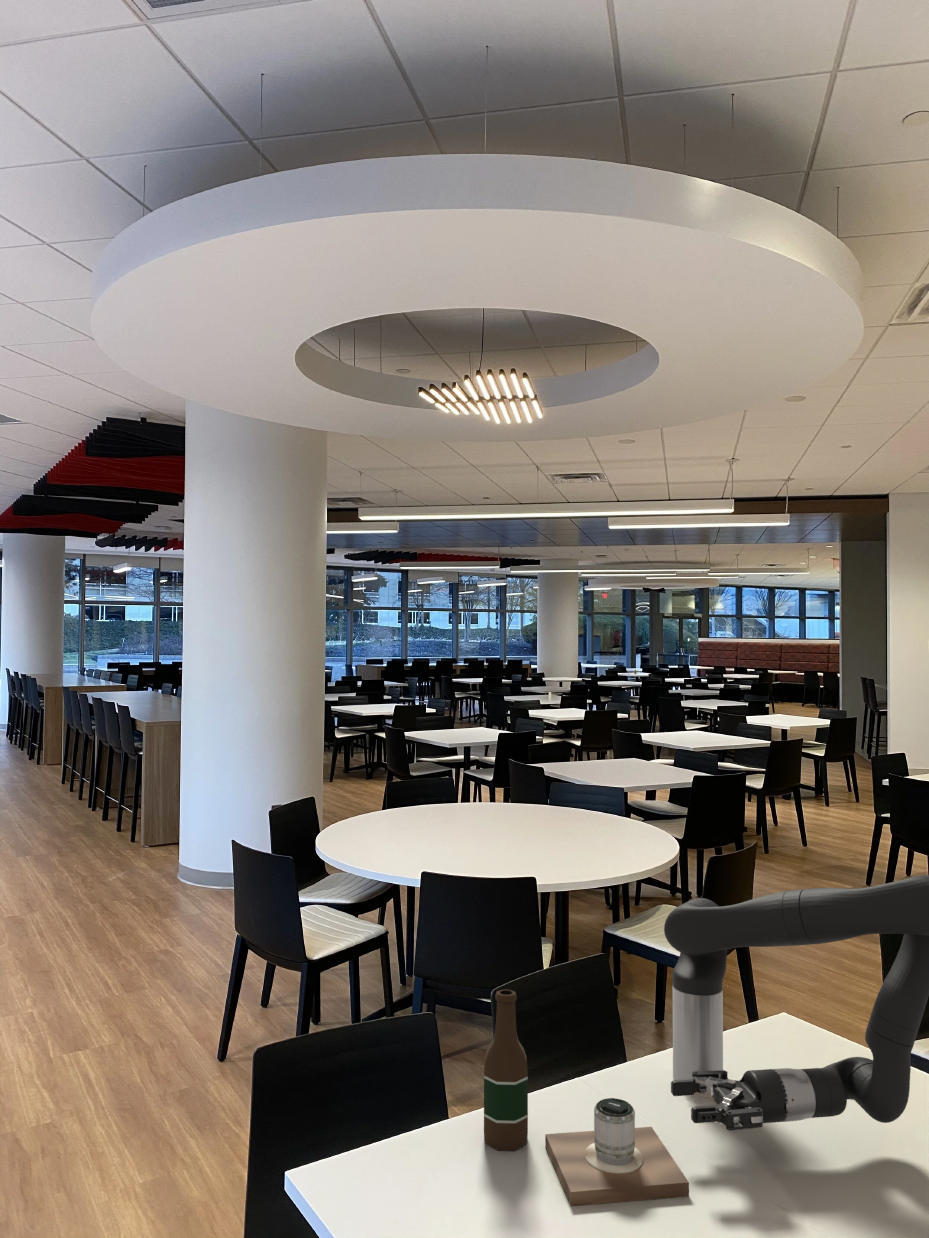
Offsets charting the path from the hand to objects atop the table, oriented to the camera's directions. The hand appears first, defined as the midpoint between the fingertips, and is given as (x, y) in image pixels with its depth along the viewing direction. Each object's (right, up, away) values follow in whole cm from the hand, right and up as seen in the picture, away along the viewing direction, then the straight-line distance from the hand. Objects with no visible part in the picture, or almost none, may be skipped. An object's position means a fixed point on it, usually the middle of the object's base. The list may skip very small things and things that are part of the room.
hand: (681, 1101), depth 142 cm
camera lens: (-11, -8, -2) cm, 13 cm away
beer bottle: (-27, -10, +7) cm, 30 cm away
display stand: (-11, -10, -2) cm, 15 cm away
